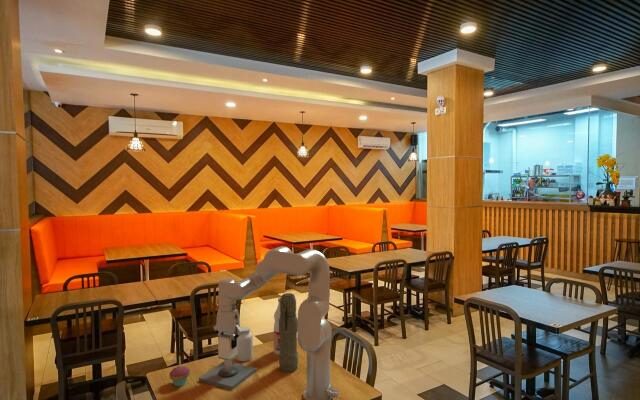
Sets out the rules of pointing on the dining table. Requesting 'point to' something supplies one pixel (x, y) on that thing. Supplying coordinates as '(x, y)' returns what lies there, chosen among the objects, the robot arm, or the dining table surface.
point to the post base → (227, 375)
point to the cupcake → (179, 374)
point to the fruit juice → (277, 330)
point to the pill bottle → (245, 345)
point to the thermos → (288, 333)
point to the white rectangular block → (226, 347)
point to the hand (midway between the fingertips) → (227, 346)
